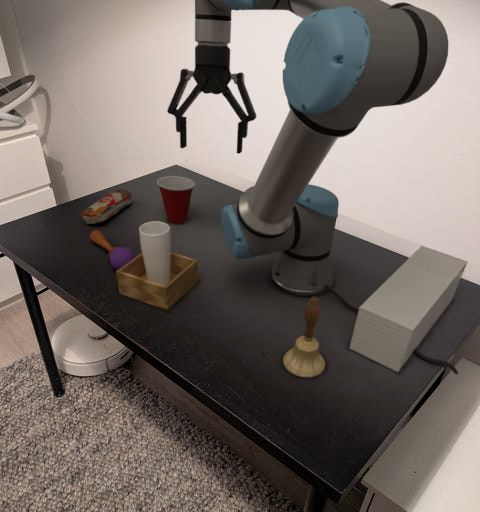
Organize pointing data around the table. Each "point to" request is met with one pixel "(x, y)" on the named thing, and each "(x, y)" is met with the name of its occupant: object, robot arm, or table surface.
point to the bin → (155, 294)
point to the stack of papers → (406, 307)
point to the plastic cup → (176, 197)
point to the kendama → (113, 251)
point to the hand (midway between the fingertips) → (211, 149)
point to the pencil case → (107, 207)
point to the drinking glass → (156, 251)
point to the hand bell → (306, 347)
